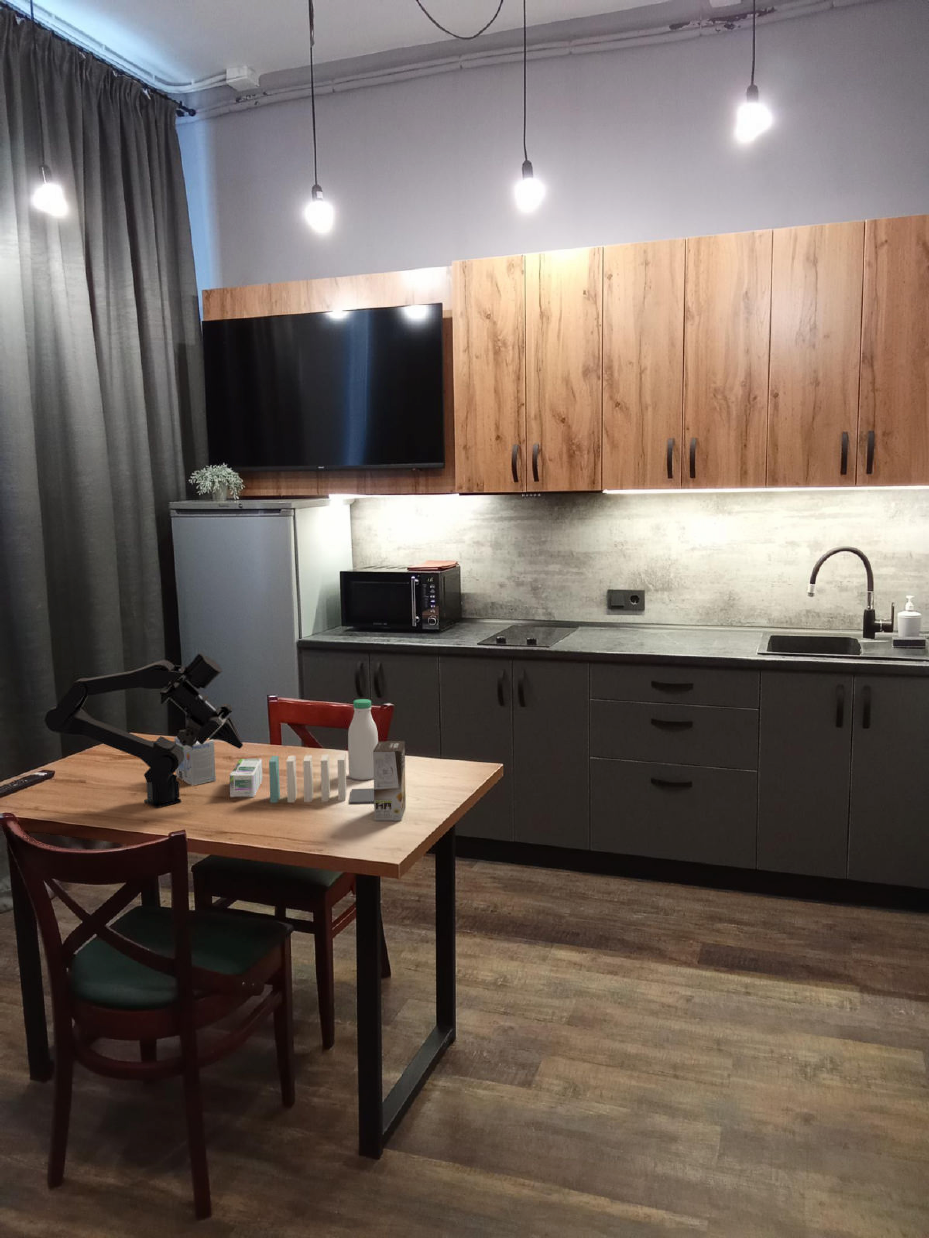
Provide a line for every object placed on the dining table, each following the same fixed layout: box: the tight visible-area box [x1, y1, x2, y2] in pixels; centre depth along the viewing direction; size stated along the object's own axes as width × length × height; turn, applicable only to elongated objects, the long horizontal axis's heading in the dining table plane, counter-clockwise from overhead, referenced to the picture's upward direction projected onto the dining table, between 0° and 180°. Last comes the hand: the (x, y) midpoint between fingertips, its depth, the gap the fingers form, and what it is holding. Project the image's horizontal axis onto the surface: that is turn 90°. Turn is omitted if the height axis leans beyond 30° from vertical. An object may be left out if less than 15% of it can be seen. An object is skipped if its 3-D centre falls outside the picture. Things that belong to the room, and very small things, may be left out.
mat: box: [349, 787, 374, 805], centre depth 229 cm, size 10×10×1 cm
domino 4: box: [320, 754, 331, 803], centre depth 228 cm, size 2×5×10 cm, turn 4°
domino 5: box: [336, 753, 347, 802], centre depth 228 cm, size 2×5×10 cm, turn 4°
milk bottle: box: [347, 698, 379, 781], centre depth 245 cm, size 8×8×20 cm
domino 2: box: [286, 755, 298, 803], centre depth 227 cm, size 2×5×10 cm, turn 4°
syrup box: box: [229, 758, 263, 798], centre depth 236 cm, size 6×6×14 cm
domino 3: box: [302, 754, 314, 803], centre depth 227 cm, size 2×5×10 cm, turn 4°
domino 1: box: [268, 755, 281, 804], centre depth 227 cm, size 2×5×10 cm, turn 4°
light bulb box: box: [174, 736, 217, 786], centre depth 244 cm, size 11×7×11 cm, turn 38°
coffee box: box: [373, 740, 407, 822], centre depth 215 cm, size 9×6×16 cm
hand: (241, 747), depth 226 cm, fingers closed
